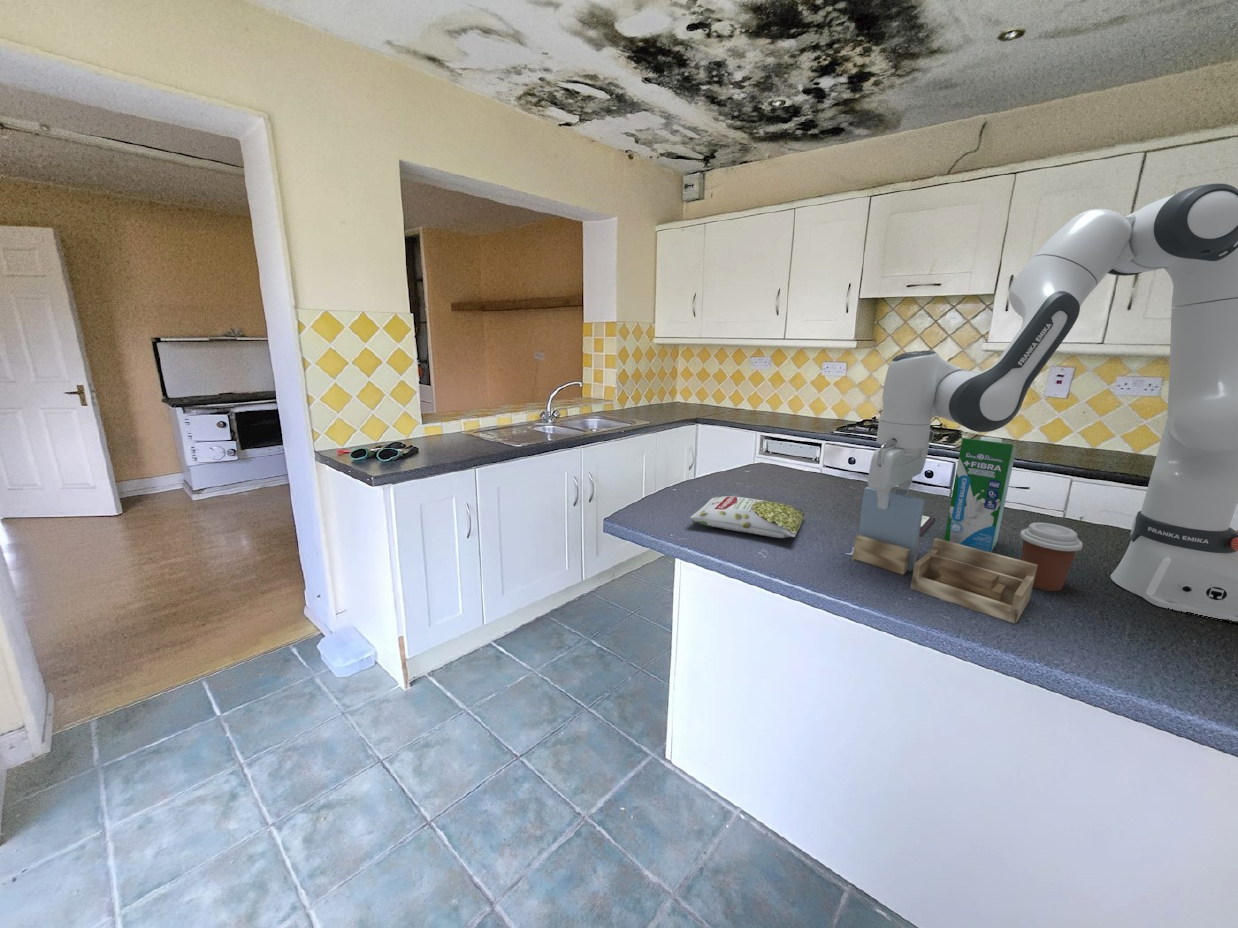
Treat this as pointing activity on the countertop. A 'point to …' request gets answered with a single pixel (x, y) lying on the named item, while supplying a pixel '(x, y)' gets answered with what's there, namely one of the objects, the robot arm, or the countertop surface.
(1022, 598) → the rack
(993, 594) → the offcut
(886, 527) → the sheet
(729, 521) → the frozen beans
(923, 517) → the chocolate bar
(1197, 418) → the robot arm
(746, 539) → the countertop surface
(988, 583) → the offcut
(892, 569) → the stand
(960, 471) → the milk carton
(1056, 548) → the coffee cup
